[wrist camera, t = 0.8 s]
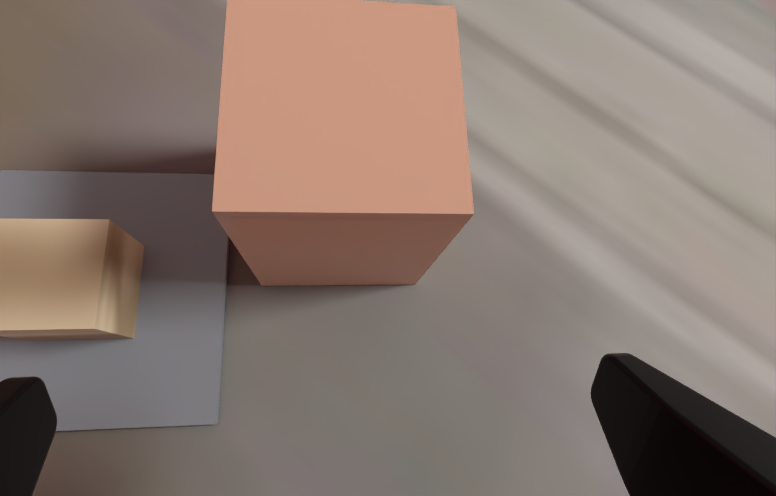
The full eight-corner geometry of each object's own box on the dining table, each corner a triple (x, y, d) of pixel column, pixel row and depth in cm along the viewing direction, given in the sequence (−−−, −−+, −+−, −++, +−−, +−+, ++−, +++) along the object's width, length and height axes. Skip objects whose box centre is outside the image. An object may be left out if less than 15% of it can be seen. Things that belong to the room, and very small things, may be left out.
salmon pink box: (415, 284, 22) (474, 214, 13) (261, 285, 21) (212, 211, 12) (408, 149, 24) (455, 6, 15) (267, 145, 23) (227, -8, 14)
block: (134, 338, 20) (94, 328, 16) (29, 340, 19) (-33, 330, 16) (144, 246, 21) (109, 219, 18) (46, 245, 20) (-10, 218, 17)
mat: (218, 423, 20) (215, 424, 19) (-79, 435, 18) (-88, 437, 18) (233, 178, 23) (231, 174, 22) (-21, 173, 21) (-27, 169, 21)
